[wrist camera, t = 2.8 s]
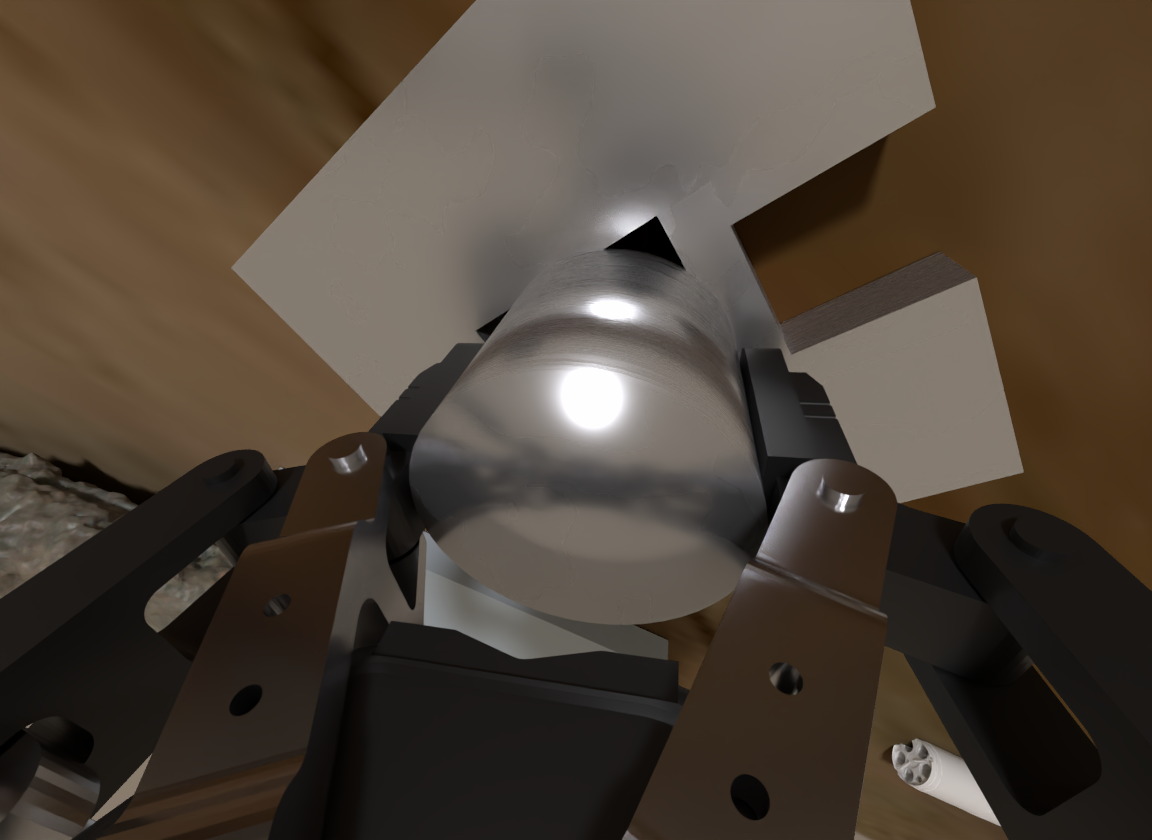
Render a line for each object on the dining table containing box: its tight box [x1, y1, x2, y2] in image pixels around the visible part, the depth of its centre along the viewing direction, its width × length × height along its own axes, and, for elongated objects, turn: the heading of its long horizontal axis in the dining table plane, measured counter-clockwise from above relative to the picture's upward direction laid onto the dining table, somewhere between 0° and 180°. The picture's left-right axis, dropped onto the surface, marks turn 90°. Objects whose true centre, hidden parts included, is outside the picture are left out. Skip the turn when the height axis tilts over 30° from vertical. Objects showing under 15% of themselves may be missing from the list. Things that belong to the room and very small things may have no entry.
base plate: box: [280, 468, 668, 660], centre depth 23 cm, size 18×18×4 cm
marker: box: [892, 738, 1001, 826], centre depth 23 cm, size 18×2×2 cm, turn 64°
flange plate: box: [231, 0, 1023, 625], centre depth 10 cm, size 14×14×7 cm
